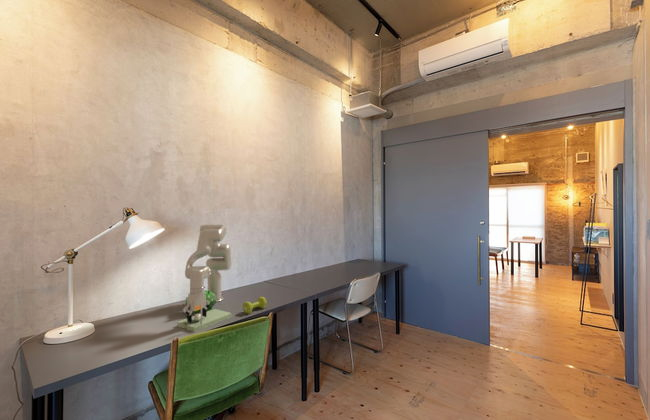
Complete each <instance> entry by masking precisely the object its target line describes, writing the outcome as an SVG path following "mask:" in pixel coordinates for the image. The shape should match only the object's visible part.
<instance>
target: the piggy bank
mask: <svg viewBox="0 0 650 420" xmlns="http://www.w3.org/2000/svg"><path fill="white" fill-rule="evenodd" d="M204 291H205V295H206V300H208V301H210V304H209V307H208V308H207V311H210V310H212V308H213V307H214V306H215V303H216V302H215V301H216V298H215V295H214V293H213V292H211V291H208V290H207V289H206V290H205V289H204ZM187 299H188V296H186V297H185V307H186V306H187ZM206 304H207V302H206ZM202 309H203V308H202ZM193 313H194V315H195V314H197V313H199V314H200V313H201V309H200V310H197V311H193Z"/></svg>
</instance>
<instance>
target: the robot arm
mask: <svg viewBox="0 0 650 420" xmlns="http://www.w3.org/2000/svg"><path fill="white" fill-rule="evenodd" d="M226 234H227V227H226V226H225V225H224V224H202V225H200V227H199V234H198V235H199V236H198V240H197V241H198V242H197V248H196V251H194V252H193V253H192V254H191V255H190V257H188V259H187V261H186V264H185V271H184V275H185V276H184V277H186V279H189V293H187V294H188V295H187V297H188V299H187V306H186V305H185V306H184V307H183V308H182V311H183V312H184V314H185V315H186V319H187V321H188V322H192V317H193V316H192V314H193V313H194V311H195V306H198V305H201V304H202V308H203V309H202V316H204V317H206V314H207V308H208V307H209V304H210V301H208V300H206V295H205V291H204V290H205V289H206V286H205V279H207V291H211V292H213V293H214V295H215V298H216V301H215V303H220V302H222V301H224V297H223V296H222V275H221V273H220V271H229V270H231V268H232V257H231V255H232V254H231V246H230V245H229V244H227V243H220V242H222V241H223V240H224V238H225V237H226ZM205 256H208V257H210V258H207V260H206V262H205V263H206V264H205V265H194V263H195V262H196V261H197V260H199V259H201V258H204V257H205ZM193 265H194V266H193ZM206 302H207V304H206Z"/></svg>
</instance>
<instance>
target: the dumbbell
mask: <svg viewBox="0 0 650 420" xmlns="http://www.w3.org/2000/svg"><path fill="white" fill-rule="evenodd" d="M267 303H268V302H267V299H266V298H265V297H264V296H259V297H258V299H257V300H256V302H253V303H252V302H250V301H244V302H243V304H242V309H243V310H242V311H243V312H244V314H247V315H248V314H251V313H252V312H253V309H254V308H259V309H264V308H266V307H267Z"/></svg>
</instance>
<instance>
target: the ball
mask: <svg viewBox="0 0 650 420" xmlns="http://www.w3.org/2000/svg"><path fill="white" fill-rule="evenodd" d="M193 316H194V319H195V320H196V321H198V320H200V319H201V313H200V312H199V313H197V314H195V313H194V315H193Z"/></svg>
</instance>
